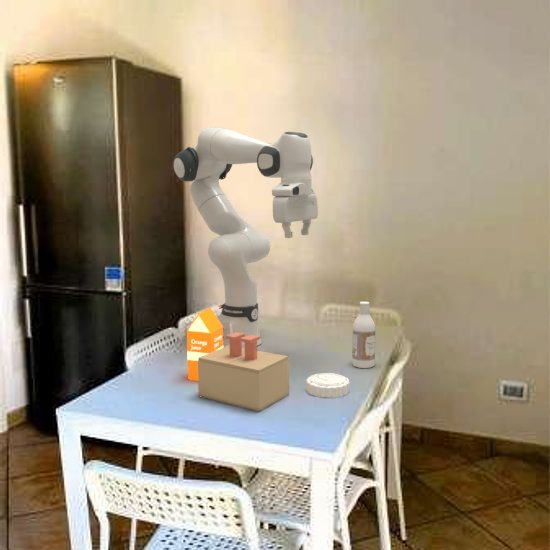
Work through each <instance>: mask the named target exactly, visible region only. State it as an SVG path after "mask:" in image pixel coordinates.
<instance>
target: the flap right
mask: <svg viewBox="0 0 550 550" xmlns="http://www.w3.org/2000/svg"><path fill="white" fill-rule="evenodd" d="M260 337H261V335H260V336H256V335H249V336H246V337H243V338H241V341H242V342H245V357H243V358H240V359H238V360H236V361H233V362H231V363H229V364H228V367H232V368H236V369H241V370H246V371H251V372H255V373H261V372H263V371H265V370H267V369H269V368H271V367H273V366H275V365H277V364H280V363H282V362H284V361H286V360H288V359H289V356H288V355H283V354H277V353H272V352H267V351H261V350H258V345H257V340H259V339H260Z"/></svg>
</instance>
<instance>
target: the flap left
mask: <svg viewBox="0 0 550 550" xmlns="http://www.w3.org/2000/svg"><path fill="white" fill-rule="evenodd" d="M242 337H245V334H244V333H238V332H235V333H232V334H229V335H227V336H226V339H230V345H229V346H227V347H224V348H221V349H219V350H216V351H214V352H211V353H209V354H206V355H204V356H201V357H199V358H198V360H199V361H203V362H208V363H213V364H217V365H222V366H227V367H228V364H229V363H231V362H233V361H236V360H238V359H240V358H243V357H245V348H242V341H241V338H242Z"/></svg>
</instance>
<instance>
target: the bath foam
mask: <svg viewBox="0 0 550 550" xmlns="http://www.w3.org/2000/svg"><path fill="white" fill-rule="evenodd" d="M351 341H352V346H351V347H352V348H351V349H352V351H351V353H352V354H351V356H352V359H351V364H352V366H353V367H355V368H359V369H370V368H372V367H374V366H375V362H376V324H375V322H374V320H373V318H372V317H371V315H370V302H369V301H359V314H358V315H357V317H356V318H355V320H354V322H353V325H352V340H351Z"/></svg>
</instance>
